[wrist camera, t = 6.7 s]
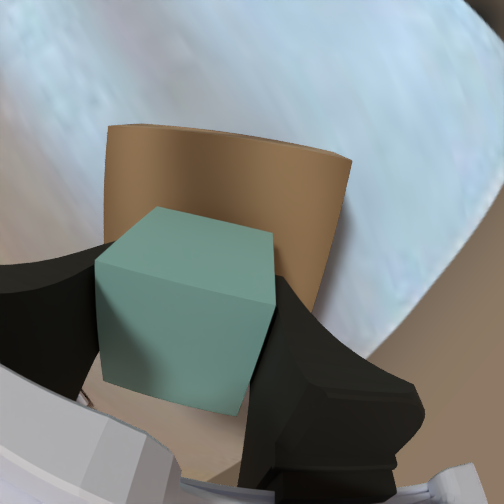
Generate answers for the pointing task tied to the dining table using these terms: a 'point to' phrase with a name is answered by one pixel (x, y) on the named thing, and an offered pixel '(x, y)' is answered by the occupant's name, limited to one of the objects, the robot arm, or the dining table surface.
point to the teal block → (185, 308)
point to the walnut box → (230, 190)
